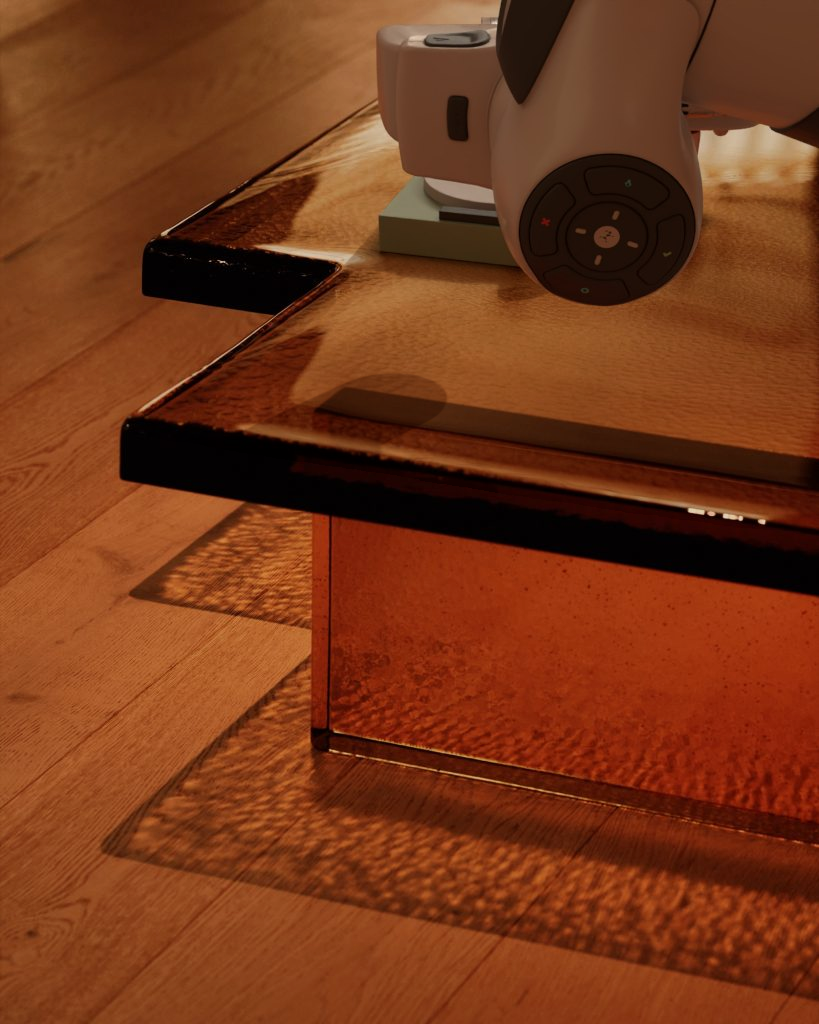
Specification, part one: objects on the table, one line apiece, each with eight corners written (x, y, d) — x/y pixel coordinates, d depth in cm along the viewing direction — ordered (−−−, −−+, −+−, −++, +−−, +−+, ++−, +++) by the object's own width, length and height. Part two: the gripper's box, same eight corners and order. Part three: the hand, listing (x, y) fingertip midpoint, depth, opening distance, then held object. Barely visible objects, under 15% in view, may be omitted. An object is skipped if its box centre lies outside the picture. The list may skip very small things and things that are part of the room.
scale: (617, 196, 113) (620, 151, 111) (573, 273, 102) (575, 224, 100) (440, 178, 116) (440, 134, 115) (378, 251, 105) (377, 203, 103)
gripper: (808, 41, 74) (760, -30, 86) (367, 45, 75) (379, -27, 87) (793, 172, 78) (749, 86, 89) (371, 175, 78) (382, 89, 90)
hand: (564, 31), depth 88 cm, fingers closed on can, 6 cm apart
